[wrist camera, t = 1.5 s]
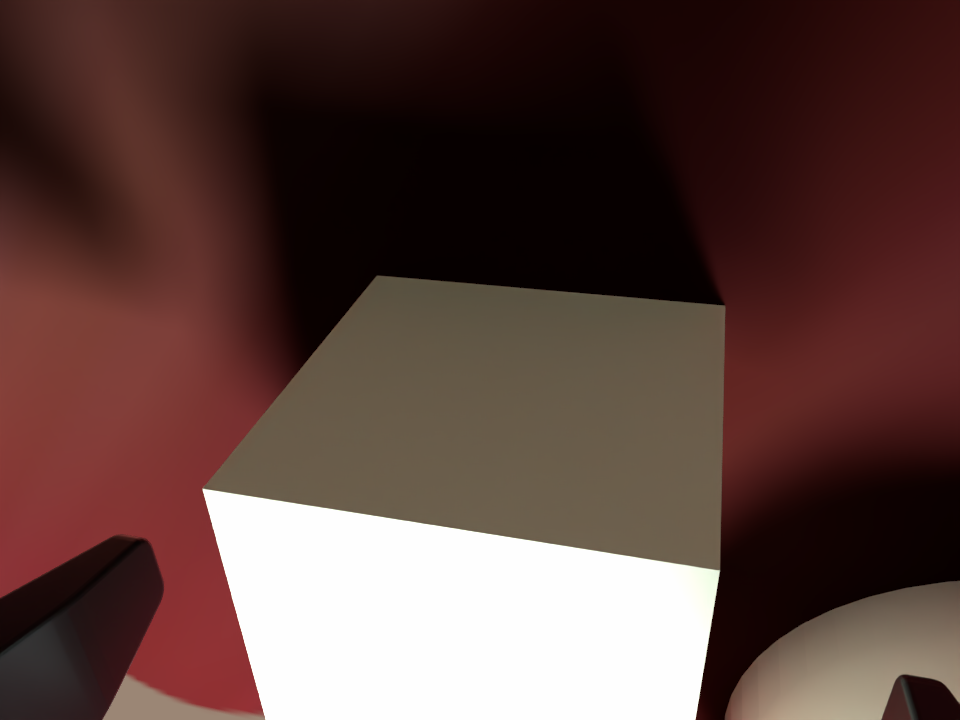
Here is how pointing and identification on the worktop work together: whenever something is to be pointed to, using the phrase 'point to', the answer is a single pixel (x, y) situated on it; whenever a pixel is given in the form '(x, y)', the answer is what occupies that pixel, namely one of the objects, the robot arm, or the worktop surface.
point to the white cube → (483, 510)
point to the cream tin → (855, 658)
